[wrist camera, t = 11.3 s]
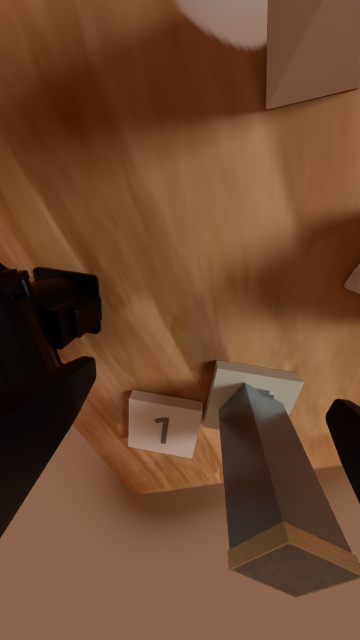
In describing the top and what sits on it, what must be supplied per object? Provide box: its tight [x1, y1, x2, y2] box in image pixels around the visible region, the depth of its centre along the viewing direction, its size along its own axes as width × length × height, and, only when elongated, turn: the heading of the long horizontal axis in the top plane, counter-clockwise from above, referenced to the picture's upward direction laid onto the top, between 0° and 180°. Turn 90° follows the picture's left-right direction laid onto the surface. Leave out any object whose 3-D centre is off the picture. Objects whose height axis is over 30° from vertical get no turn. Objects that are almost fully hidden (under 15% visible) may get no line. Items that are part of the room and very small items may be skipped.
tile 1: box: [128, 390, 203, 458], centre depth 26 cm, size 9×9×2 cm
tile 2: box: [203, 360, 305, 430], centre depth 23 cm, size 9×9×2 cm
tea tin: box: [218, 383, 360, 598], centre depth 17 cm, size 5×5×12 cm
